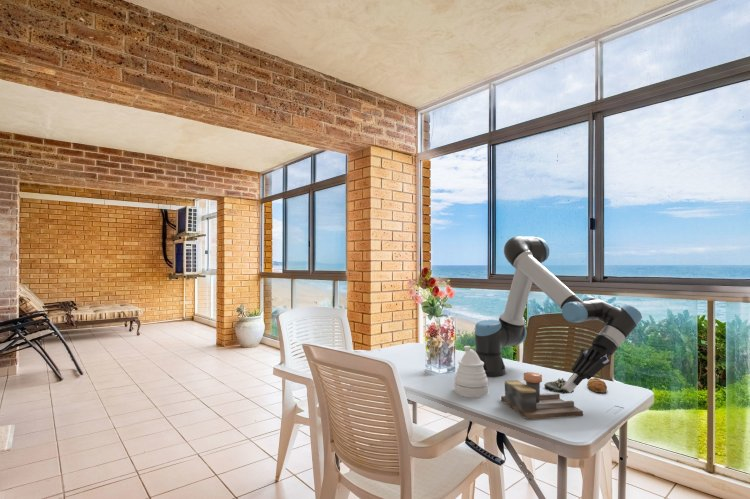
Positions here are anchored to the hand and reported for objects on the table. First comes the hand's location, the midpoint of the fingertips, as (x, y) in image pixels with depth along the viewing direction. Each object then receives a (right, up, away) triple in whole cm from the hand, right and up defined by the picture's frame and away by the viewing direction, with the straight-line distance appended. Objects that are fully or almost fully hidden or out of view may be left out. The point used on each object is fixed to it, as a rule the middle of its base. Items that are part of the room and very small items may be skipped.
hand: (566, 389), depth 141 cm
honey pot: (-30, -6, +15) cm, 35 cm away
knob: (-13, -4, -2) cm, 14 cm away
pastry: (+21, -7, +18) cm, 28 cm away
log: (+6, -7, +19) cm, 21 cm away
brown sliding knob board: (-10, -6, -2) cm, 12 cm away
